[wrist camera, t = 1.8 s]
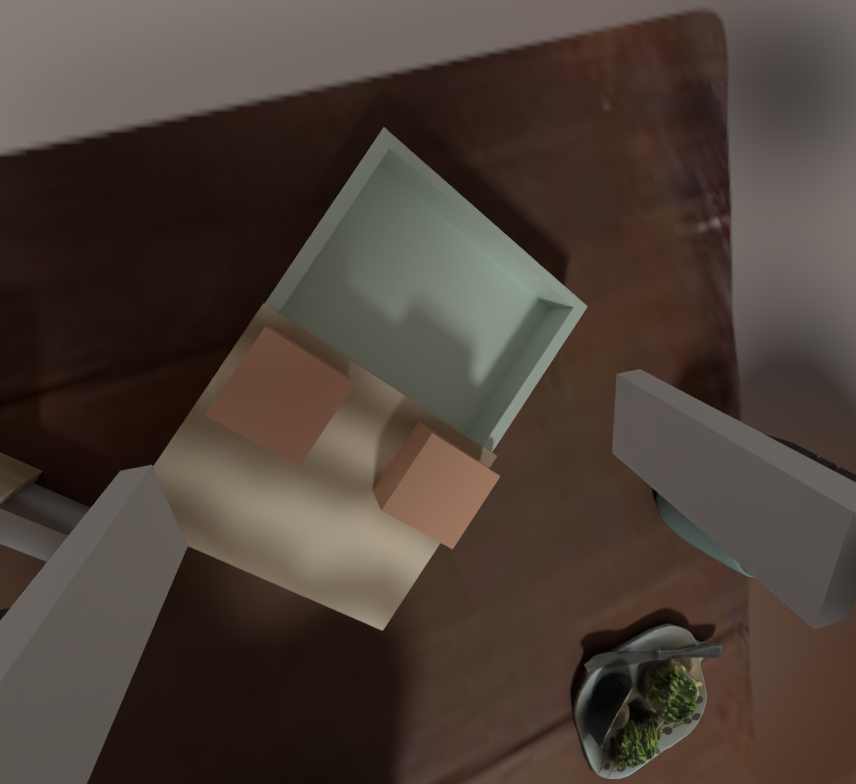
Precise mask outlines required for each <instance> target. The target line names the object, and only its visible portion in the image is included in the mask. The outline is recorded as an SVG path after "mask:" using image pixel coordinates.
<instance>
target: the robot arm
mask: <svg viewBox="0 0 856 784" xmlns="http://www.w3.org/2000/svg"><path fill="white" fill-rule="evenodd" d="M612 453H613V454H614V455H615V456H617V457H618V458H619V459H620V460H621V461H622V462H623V463H625V464H626V465H627V466H628V467H629V468H630V469H631V470H633V471H634V472H635V473H636V474H637V475H638V476H639V477H641V478H642V479H643V480H644V481H645V482H646V483H647V484H649V485H650V486H651V487H652V488H653V489H654V490H655V491H657V492H658V493H659V494H660V495H661V496H662V497H663V498H665V499H666V500H667V501H668V502H669V503H670V504H671V505H673V506H674V507H675V508H676V509H677V510H678V511H679V512H681V513H682V514H683V515H684V516H685V517H686V518H687V519H689V520H690V521H691V522H692V523H693V524H694V525H695V526H697V527H698V528H699V529H700V530H701V531H702V532H703V533H705V534H706V535H707V536H708V537H709V538H710V539H711V540H713V541H714V542H715V543H716V544H717V545H718V546H719V547H721V548H722V549H723V550H724V551H725V552H726V553H727V554H729V555H730V556H731V557H732V558H733V559H734V560H735V561H737V562H738V563H739V564H740V565H741V566H742V567H743V568H745V569H746V570H747V571H748V572H749V573H750V574H751V575H753V576H754V577H755V578H756V579H757V580H758V581H760V582H761V583H762V584H763V585H764V586H765V587H766V588H768V589H769V590H770V591H771V592H772V593H773V594H774V595H775V596H777V597H778V598H779V599H780V600H781V601H782V602H783V603H785V604H786V605H787V606H788V607H789V608H790V609H792V610H793V611H794V612H795V613H796V614H798V616H800V617H801V618H802V619H803V620H804V621H805V622H806V623H808V624H809V625H810V626H811V627H812V628H813V629H816V628H820V627H823V626H826V625H829V624H833V623H836V622H840V621H843V620H846V619H849V616H850V613H851V611H852V608H853V605H854V603H855V600H856V475H855V474H853V473H851V472H849V471H847V470H845V469H843V468H837V467H836V465H835V464H833V463H831V462H829V461H827V460H825V459H823V458H817V455H815V454H814V453H812V452H810V451H808V450H806V449H804V448H802V447H800V446H798V445H796V444H794V443H791V442H788V441H785V440H782V439H778V438H775V437H772V436H769V435H764V434H762V433H760V432H759V431H756V430H755V429H752V428H751V427H749V426H747V425H745V424H743V423H741V422H740V421H738V420H736V419H734V418H732V417H730V416H728V415H726V414H724V413H722V412H721V411H719V410H717V409H715V408H713V407H711V406H709V405H707V404H705V403H703V402H701V401H700V400H698V399H696V398H694V397H692V396H690V395H688V394H686V393H684V392H682V391H681V390H679V389H677V388H675V387H673V386H671V385H669V384H667V383H665V382H663V381H661V380H660V379H658V378H656V377H654V376H652V375H650V374H648V373H646V372H644V371H642V370H641V369H639V370H634V371H629V372H624V373H618V374H617V378H616V395H615V412H614V428H613V445H612ZM187 547H188V546H187V544H186V542H185V539H184V537H183V535H182V532H181V530H180V528H179V526H178V523H177V521H176V519H175V516H174V514H173V512H172V510H171V507H170V505H169V503H168V500H167V498H166V496H165V494H164V491H163V489H162V487H161V484H160V482H159V480H158V478H157V475H156V473H155V471H154V468H153V466H152V465H148V466H143V467H138V468H133V469H128V470H123V471H120V472H119V473H118V474H117V476H116V477H115V478H114V479H113V481H112V482H111V483H110V484H109V486H108V487H107V488H106V489H105V491H104V492H103V493H102V494H101V496H100V497H99V498H98V499H97V501H96V502H95V503H94V504H93V506H92V507H91V508H90V509H89V511H88V512H87V513H86V514H85V516H84V517H83V518H82V519H81V521H80V522H79V523H78V524H77V526H76V527H75V528H74V529H73V531H72V532H71V533H70V534H69V536H68V537H67V538H66V539H65V541H64V542H63V543H62V544H61V546H60V547H59V548H58V549H57V551H56V552H55V553H54V554H53V556H52V557H51V558H50V559H49V561H48V562H47V563H46V564H45V566H44V567H43V568H42V569H41V571H40V572H39V573H38V574H37V576H36V577H35V578H34V579H33V581H32V582H31V583H30V584H29V586H28V587H27V588H26V589H25V591H24V592H23V593H22V594H21V596H20V597H19V598H18V599H17V601H16V602H15V603H14V604H13V606H12V607H11V608H7V609H3V610H0V784H87V782H88V780H89V778H90V775H91V773H92V771H93V768H94V766H95V764H96V761H97V759H98V757H99V754H100V752H101V749H102V747H103V745H104V742H105V740H106V738H107V735H108V733H109V731H110V728H111V726H112V724H113V721H114V719H115V716H116V714H117V712H118V709H119V707H120V705H121V702H122V700H123V698H124V695H125V693H126V691H127V688H128V686H129V683H130V681H131V679H132V676H133V674H134V672H135V669H136V667H137V665H138V662H139V660H140V658H141V655H142V653H143V650H144V648H145V646H146V643H147V641H148V639H149V636H150V634H151V632H152V629H153V627H154V625H155V622H156V620H157V618H158V615H159V613H160V610H161V608H162V606H163V603H164V601H165V599H166V596H167V594H168V592H169V589H170V587H171V585H172V582H173V580H174V577H175V575H176V573H177V570H178V568H179V566H180V563H181V561H182V559H183V556H184V554H185V552H186V549H187Z"/></svg>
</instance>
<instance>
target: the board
mask: <svg viewBox="0 0 856 784" xmlns="http://www.w3.org/2000/svg"><path fill="white" fill-rule="evenodd" d="M265 326H271V327H272V328H274V329H276V330H277V331H279V332H280V333H282V334H283V335H285V336H286V337H288V338H290V339H291V340H293V341H294V342H296V343H297V344H299V345H301V346H302V347H304V348H305V349H307V350H308V351H310V352H311V353H313V354H315V355H316V356H318V357H319V358H321V359H322V360H324V361H326V362H327V363H329V364H330V365H332V366H333V367H335V368H336V369H338V370H340V371H341V372H343V373H344V374H346V375H347V376H349V377H350V378H351V380H352V381H353V382H354V383H355V384H354V386H353V387H352V389H351V390H350V392H349V393H348V395H347V396H346V398H345V399H344V401H343V402H342V404H341V405H340V407H339V408H338V410H337V411H336V413H335V414H334V416H333V417H332V419H331V420H330V422H329V423H328V425H327V426H326V428H325V429H324V431H323V432H322V434H321V435H320V437H319V438H318V440H317V441H316V443H315V444H314V446H313V447H312V449H311V450H310V452H309V453H308V455H307V456H306V458H305V459H304V461H303V462H302V464H301V465H300V467H299V466H298V465H296V464H294V463H292V462H290V461H288V460H286V459H285V458H283V457H281V456H279V455H277V454H275V453H274V452H272V451H270V450H268V449H266V448H264V447H262V446H261V445H259V444H257V443H255V442H253V441H251V440H249V439H248V438H246V437H244V436H242V435H240V434H238V433H237V432H235V431H233V430H231V429H229V428H227V427H225V426H224V425H222V424H220V423H218V422H216V421H214V420H212V419H211V418H209V417H207V416H205V415H206V414H207V412H208V411H209V409H210V408H211V406H212V405H213V403H214V402H215V400H216V399H217V397H218V396H219V394H220V393H221V391H222V390H223V388H224V387H225V385H226V384H227V383H228V381H229V380H230V378H231V377H232V375H233V374H234V372H235V371H236V369H237V368H238V366H239V365H240V363H241V362H242V360H243V359H244V357H245V356H246V354H247V353H248V351H249V350H250V348H251V347H252V345H253V344H254V342H255V341H256V340H257V338H258V337H259V335H260V334H261V332H262V331H263V329H264V328H265ZM418 421H419V422H421V423H422V424H424V425H425V426H427V427H429V428H430V429H432V430H433V431H435V432H436V433H438V434H440V435H441V436H443V437H444V438H446V439H447V440H449V441H450V442H452V443H454V444H455V445H457V446H458V447H460V448H461V449H463V450H464V451H466V452H468V453H469V454H471V455H472V456H474V457H475V458H477V459H479V460H480V461H481V462H483V463H484V464H485V465H487V466H488V467H489V468H490V466H491V465H492V463H493V462H494V460H495V459H496V457H497V456H496V455H495V454H493V453H492V452H491V451H489V450H487V449H486V448H484V447H483V446H481V445H480V444H479V443H477V442H476V441H474V440H473V439H471V438H470V437H469V436H467V435H466V434H464V433H463V432H461V431H459V430H458V429H456V428H455V427H453V426H452V425H450V424H449V423H447V422H446V421H444V420H443V419H441V418H440V417H438V416H437V415H435V414H434V413H432V412H431V411H429V410H427V409H426V408H424V407H423V406H421V405H420V404H418V403H417V402H415V401H414V400H412V399H411V398H409V397H408V396H406V395H405V394H403V393H402V392H400V391H399V390H397V389H395V388H394V387H392V386H391V385H389V384H388V383H386V382H385V381H383V380H382V379H380V378H379V377H377V376H376V375H374V374H373V373H371V372H370V371H368V370H367V369H365V368H363V367H362V366H360V365H359V364H357V363H356V362H354V361H353V360H351V359H350V358H348V357H347V356H345V355H344V354H342V353H341V352H339V351H338V350H336V349H335V348H333V347H332V346H330V345H328V344H327V343H325V342H324V341H322V340H321V339H319V338H318V337H316V336H315V335H313V334H312V333H310V332H309V331H307V330H306V329H304V328H303V327H301V326H300V325H298V324H296V323H295V322H293V321H292V320H290V319H289V318H287V317H286V316H284V315H283V314H281V313H279V312H277V311H275V310H274V309H272V308H271V307H269V306H268V305H266V304H265V303H263V305H262V306H261V308H260V309H259V311H258V312H257V314H256V315H255V317H254V318H253V320H252V321H251V322H250V324H249V325H248V327H247V328H246V330H245V331H244V333H243V334H242V336H241V337H240V339H239V340H238V342H237V343H236V345H235V346H234V348H233V349H232V351H231V352H230V354H229V355H228V357H227V358H226V359H225V361H224V362H223V364H222V365H221V367H220V368H219V370H218V371H217V373H216V374H215V376H214V377H213V379H212V380H211V382H210V383H209V385H208V386H207V388H206V389H205V391H204V392H203V394H202V395H201V397H200V398H199V399H198V401H197V402H196V404H195V405H194V407H193V408H192V410H191V411H190V413H189V414H188V416H187V417H186V419H185V420H184V422H183V423H182V425H181V426H180V428H179V429H178V431H177V432H176V434H175V435H174V436H173V438H172V439H171V441H170V442H169V444H168V445H167V447H166V448H165V450H164V451H163V453H162V454H161V456H160V457H159V459H158V460H157V462H156V463H155V465H154V466H153V468H154V471H155V473H156V475H157V478H158V480H159V482H160V484H161V487H162V489H163V491H164V494H165V496H166V498H167V500H168V503H169V505H170V507H171V510H172V512H173V514H174V516H175V519H176V521H177V523H178V526H179V528H180V530H181V532H182V535H183V537H184V539H185V542H186V544H187V546H189V547H191V548H194V549H196V550H198V551H200V552H203V553H205V554H207V555H210V556H212V557H214V558H217V559H219V560H221V561H223V562H226V563H228V564H230V565H233V566H235V567H237V568H240V569H242V570H244V571H246V572H249V573H251V574H253V575H256V576H258V577H260V578H263V579H265V580H267V581H269V582H272V583H274V584H276V585H279V586H281V587H283V588H286V589H288V590H290V591H292V592H295V593H297V594H299V595H302V596H304V597H306V598H309V599H311V600H313V601H315V602H318V603H320V604H322V605H325V606H327V607H329V608H332V609H334V610H336V611H338V612H341V613H343V614H345V615H348V616H350V617H352V618H355V619H357V620H359V621H361V622H364V623H366V624H368V625H371V626H373V627H375V628H378V629H380V630H382V631H383V630H384V628H385V627H386V625H387V624H388V622H389V621H390V619H391V617H392V616H393V614H394V613H395V611H396V610H397V608H398V607H399V605H400V604H401V602H402V601H403V599H404V598H405V596H406V595H407V593H408V592H409V590H410V589H411V587H412V585H413V584H414V582H415V581H416V579H417V578H418V576H419V575H420V573H421V572H422V570H423V569H424V567H425V566H426V564H427V563H428V561H429V560H430V558H431V556H432V555H433V553H434V552H435V550H436V549H437V547H438V546H439V544H440V542H438V541H436V540H435V539H433V538H431V537H429V536H427V535H425V534H423V533H422V532H420V531H418V530H416V529H414V528H412V527H411V526H409V525H407V524H405V523H403V522H401V521H399V520H398V519H396V518H394V517H392V516H390V515H388V514H386V513H385V512H383V511H381V509H380V507H379V504H378V502H377V500H376V498H375V495H374V493H373V489H374V488H375V486H376V485H377V483H378V482H379V480H380V478H381V477H382V475H383V474H384V472H385V471H386V469H387V468H388V466H389V465H390V463H391V462H392V460H393V459H394V457H395V456H396V454H397V453H398V451H399V450H400V448H401V447H402V445H403V444H404V442H405V441H406V439H407V438H408V436H409V435H410V433H411V432H412V430H413V429H414V427H415V426H416V424H417V423H418Z"/></svg>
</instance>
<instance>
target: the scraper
mask: <svg viewBox="0 0 856 784" xmlns="http://www.w3.org/2000/svg"><path fill="white" fill-rule="evenodd" d="M41 473H42V471H41V470H39V469H37V468H34V467H32V466H30V465H28V464H25V463H23V462H21V461H19V460H16V459H14V458H12V457H9V456H7V455H5V454H3V453H0V544H2V545H5V546H7V547H10V548H13V549H15V550H18V551H20V552H23V553H26V554H28V555H31V556H33V557H36V558H39V559H41V560H44V561H47V562H48V561H49V559H50V558H51V557H52V556H53V554H54V553H55V552H56V551H57V549H58V548H59V547H60V546H61V544H62V543H63V542H64V541H65V539H66V538H67V537H68V536H69V534H70V533H71V532H72V531H73V529H74V528H75V527H76V526H77V524H78V523H79V522H80V521H81V519H82V518H83V517H84V516H85V514H86V513H87V512H88V511H89V509H90V507H88V506H85V505H83V504H81V503H78V502H76V501H74V500H72V499H69V498H67V497H65V496H62V495H60V494H58V493H55V492H53V491H51V490H48V489H46V488H44V487H41V486H39V485H37V484H35V481H36V480H37V479H38V477H39V476H40V474H41Z"/></svg>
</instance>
